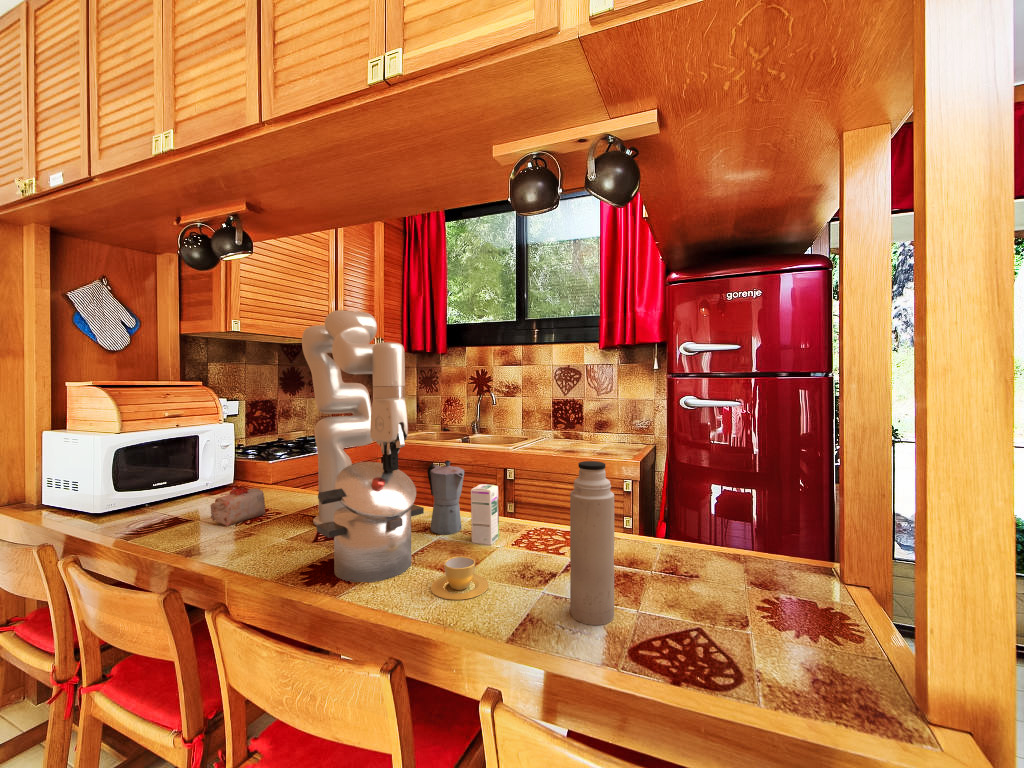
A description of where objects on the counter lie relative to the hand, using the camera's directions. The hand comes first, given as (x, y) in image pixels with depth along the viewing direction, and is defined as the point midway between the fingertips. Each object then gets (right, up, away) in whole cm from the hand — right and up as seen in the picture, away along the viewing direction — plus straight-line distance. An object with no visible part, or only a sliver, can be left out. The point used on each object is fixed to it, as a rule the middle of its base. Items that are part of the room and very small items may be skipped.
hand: (390, 470), depth 111 cm
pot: (-3, -21, -4) cm, 22 cm away
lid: (-3, -4, -7) cm, 9 cm away
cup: (+18, -22, -15) cm, 32 cm away
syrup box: (+22, -21, +12) cm, 33 cm away
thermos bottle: (+44, -22, -26) cm, 56 cm away
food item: (-55, -21, +30) cm, 66 cm away
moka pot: (+10, -21, +21) cm, 31 cm away
